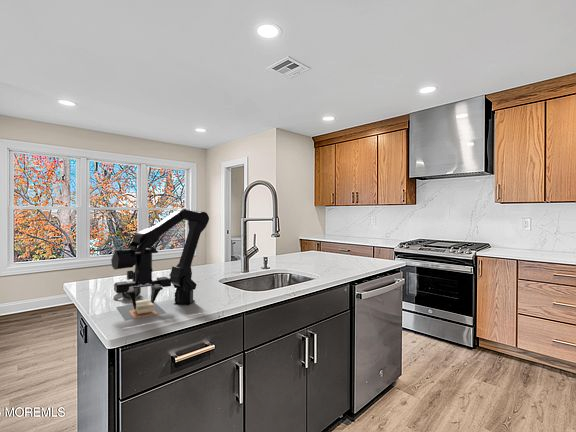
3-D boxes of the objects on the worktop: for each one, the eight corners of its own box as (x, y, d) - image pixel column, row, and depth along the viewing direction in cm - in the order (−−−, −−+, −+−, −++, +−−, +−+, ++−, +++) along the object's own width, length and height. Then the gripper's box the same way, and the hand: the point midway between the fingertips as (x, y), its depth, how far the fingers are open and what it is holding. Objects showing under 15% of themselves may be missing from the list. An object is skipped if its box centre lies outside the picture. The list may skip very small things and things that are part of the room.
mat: (153, 302, 131) (153, 300, 131) (166, 313, 117) (166, 312, 117) (115, 307, 123) (115, 306, 123) (125, 321, 109) (125, 320, 109)
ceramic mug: (140, 294, 142) (140, 277, 142) (141, 299, 135) (140, 281, 134) (114, 297, 138) (114, 280, 137) (112, 302, 130) (112, 284, 130)
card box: (154, 311, 115) (154, 304, 115) (137, 314, 112) (137, 307, 112) (148, 305, 122) (148, 299, 122) (132, 307, 119) (132, 301, 119)
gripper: (163, 260, 129) (162, 298, 129) (111, 264, 117) (111, 306, 118) (171, 264, 120) (171, 305, 120) (116, 269, 108) (116, 314, 109)
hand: (143, 307), depth 117 cm, fingers closed on card box, 5 cm apart
